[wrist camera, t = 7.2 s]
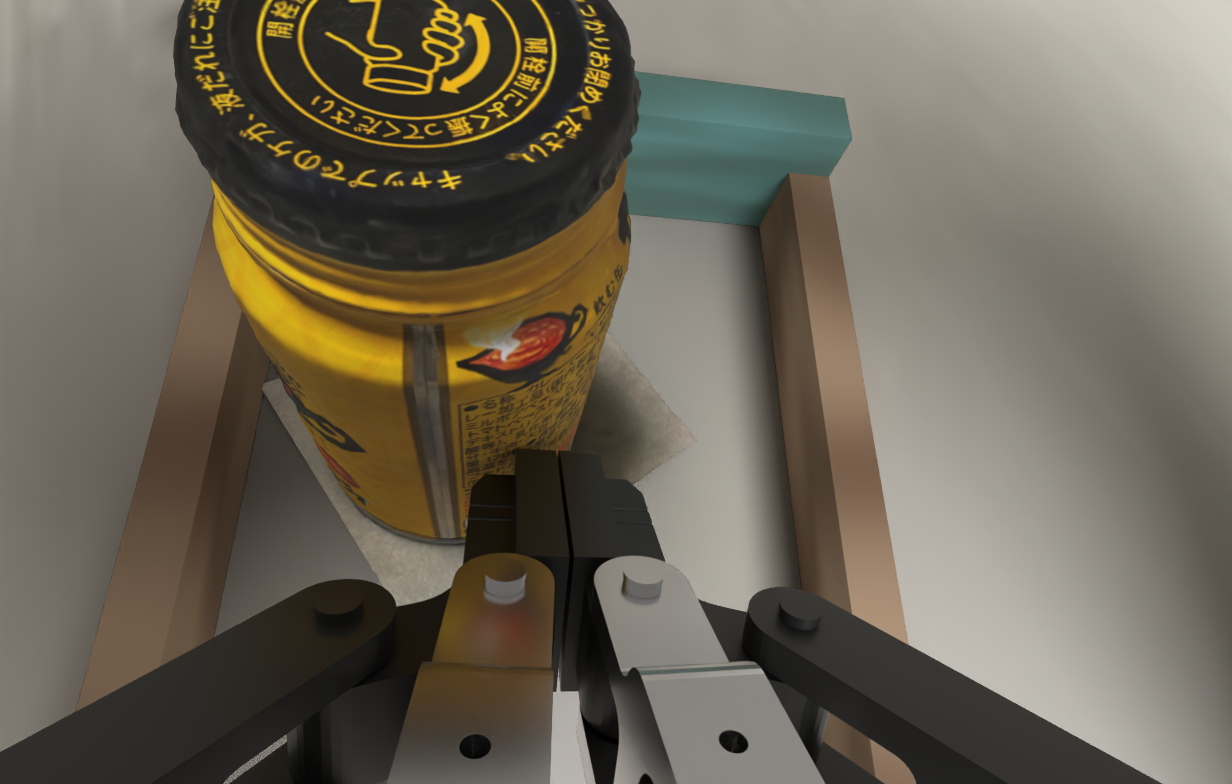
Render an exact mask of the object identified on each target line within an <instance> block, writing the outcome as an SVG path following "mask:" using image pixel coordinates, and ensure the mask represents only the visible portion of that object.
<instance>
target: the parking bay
mask: <svg viewBox="0 0 1232 784" xmlns="http://www.w3.org/2000/svg"><path fill="white" fill-rule="evenodd" d="M634 73H635V77H636V78H637V79H638V80H639V87H640V90H641V92H642V93H641V98H640V102H639V107H638V114H639V122H638V125H637V132H636V134H635V135H634V136H633V137H632V138H631V143H632V145H633V148H632V152H631V153H630V154H629V155H628V156H627V162H626V178H625V183H624V188H625V191H626V194H627V202H628V211H629V214H636V215H647V216H657V217H667V218H678V219H688V220H698V221H709V222H719V223H729V224H740V225H750V226H759V228H760V237H761V245H762V254H763V263H764V271H765V280H766V288H767V297H768V305H769V314H770V322H771V331H772V340H773V348H774V357H775V365H776V374H777V382H778V391H779V399H780V408H781V417H782V425H783V434H784V442H785V451H786V459H787V468H788V476H789V485H790V493H791V502H792V511H793V519H794V528H795V536H796V545H797V553H798V562H799V570H800V579H801V588H802V590H803V591H807V592H810V593H812V594H815V595H817V596H820V597H822V598H824V599H826V600H827V601H829V602H831V603H833V604H835V605H836V606H838V607H840V608H842V609H844V610H846V611H847V612H849V613H851V614H853V615H855V616H857V617H858V618H860V619H862V620H864V621H866V622H868V623H869V624H871V625H873V626H875V627H877V628H878V629H880V630H882V631H884V632H886V633H888V634H889V635H891V636H893V637H895V638H897V639H899V640H900V641H902V642H904V643H906V644H908V639H907V633H906V627H905V621H904V615H903V609H902V603H901V598H900V592H899V586H898V580H897V574H896V568H895V562H894V557H893V551H892V545H891V539H890V533H889V527H888V522H887V516H886V510H885V504H884V498H883V492H882V486H881V481H880V475H879V469H878V463H877V457H876V451H875V445H874V440H873V434H872V428H871V422H870V416H869V410H868V405H867V399H866V393H865V387H864V381H863V375H862V369H861V364H860V358H859V352H858V346H857V340H856V334H855V329H854V323H853V317H852V311H851V305H850V299H849V293H848V288H847V282H846V276H845V270H844V264H843V258H842V252H841V247H840V241H839V235H838V229H837V223H836V217H835V212H834V206H833V200H832V194H831V188H830V182H829V175H830V174H831V172H832V171H833V169H834V167H835V166H836V164H837V163H838V161H839V159H840V158H841V156H842V155H843V153H844V151H845V150H846V148H847V147H848V145H849V143H850V142H851V140H852V136H851V131H850V126H849V121H848V115H847V110H846V105H845V100H844V98H840V97H832V96H824V95H816V94H808V93H800V92H793V91H785V90H777V89H769V88H761V87H753V86H745V85H738V84H730V83H722V82H714V81H706V80H698V79H690V78H683V77H675V76H667V75H659V74H651V73H643V72H636V71H634ZM214 199H215V194H214V196H213V200H212V204H211V208H210V211H209V215H208V219H207V223H206V226H205V230H204V234H203V237H202V241H201V245H200V249H199V252H198V256H197V260H196V264H195V267H194V271H193V275H192V279H191V282H190V286H189V290H188V293H187V297H186V301H185V305H184V308H183V312H182V316H181V320H180V323H179V327H178V331H177V335H176V338H175V342H174V346H173V350H172V353H171V357H170V361H169V364H168V368H167V372H166V376H165V379H164V383H163V387H162V391H161V394H160V398H159V402H158V406H157V409H156V413H155V417H154V420H153V424H152V428H151V432H150V435H149V439H148V443H147V447H146V450H145V454H144V458H143V462H142V465H141V469H140V473H139V476H138V480H137V484H136V488H135V491H134V495H133V499H132V503H131V506H130V510H129V514H128V518H127V521H126V525H125V529H124V533H123V536H122V540H121V544H120V547H119V551H118V555H117V559H116V562H115V566H114V570H113V574H112V577H111V581H110V585H109V589H108V592H107V596H106V600H105V603H104V607H103V611H102V615H101V618H100V622H99V626H98V630H97V633H96V637H95V641H94V645H93V648H92V652H91V656H90V659H89V663H88V667H87V671H86V674H85V678H84V682H83V686H82V689H81V693H80V697H79V701H78V704H77V708H76V711H78V710H80V709H82V708H84V707H86V706H87V705H89V704H91V703H93V702H95V701H97V700H99V699H100V698H102V697H104V696H106V695H108V694H110V693H112V692H113V691H115V690H117V689H119V688H121V687H123V686H125V685H126V684H128V683H130V682H132V681H134V680H136V679H138V678H140V677H141V676H143V675H145V674H147V673H149V672H151V671H153V670H154V669H156V668H158V667H160V666H162V665H164V664H166V663H167V662H169V661H171V660H173V659H175V658H177V657H179V656H180V655H182V654H184V653H186V652H188V651H190V650H192V649H194V648H195V647H197V646H199V645H201V644H203V643H205V642H207V641H208V640H210V639H212V638H213V637H214V632H215V627H216V623H217V618H218V613H219V608H220V603H221V598H222V593H223V588H224V583H225V578H226V574H227V569H228V564H229V559H230V554H231V549H232V544H233V539H234V534H235V529H236V524H237V520H238V515H239V510H240V505H241V500H242V495H243V490H244V485H245V480H246V475H247V471H248V466H249V461H250V456H251V451H252V446H253V441H254V436H255V431H256V426H257V422H258V417H259V412H260V407H261V402H262V397H263V390H262V387H263V383H265V382H266V377H267V373H268V368H269V363H270V359H269V358H268V356H267V354H266V352H265V350H264V348H263V346H262V345H261V344H260V343H259V340H258V339H257V338H256V336H255V333H254V331H253V329H252V327H251V325H250V323H249V321H248V318H247V316H246V314H245V313H244V312H243V311H242V310H241V309H240V307H239V306H238V303H237V301H236V298H235V295H234V293H233V291H232V288H231V286H230V284H229V282H228V280H227V278H226V275H225V272H224V269H223V265H222V262H221V259H220V256H219V253H218V251H217V249H216V245H215V237H214V231H213V212H214ZM908 645H909V644H908ZM823 742H825V743H826V744H828V745H829V746H831V747H832V748H833V749H835V750H836V751H838V752H839V753H841V754H842V755H844V756H845V757H847V758H848V759H849V760H851V761H852V762H854V763H855V764H857V765H858V766H860V767H861V768H863V769H864V770H866V771H867V772H868V773H870V774H871V775H873V776H874V777H876V778H877V779H879V780H880V781H882V782H883V783H884V784H916V781H915V778H914V776H913V774H912V773H911V771H910V770H909V768H908V767H907V766H906V765H905V763H904V762H903V761H902V760H901V759H899V758H898V757H897V756H895V755H894V754H893V753H891V752H889V751H888V750H886V749H885V748H883V747H882V746H880V745H879V744H877V743H876V742H874V741H873V740H871V739H870V738H868V737H867V736H865V735H863V734H862V733H860V732H859V731H857V730H856V729H854V728H853V727H851V726H850V725H848V724H847V723H845V722H844V721H842V720H841V719H839V718H837V717H836V716H834V715H833V714H831V713H830V715H829V719H828V723H827V727H826V730H825V734H824V738H823Z"/></svg>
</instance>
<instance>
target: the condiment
mask: <svg viewBox="0 0 1232 784" xmlns="http://www.w3.org/2000/svg"><path fill="white" fill-rule="evenodd" d="M173 58H174V66H175V77H176V81H177V93H176V107H175V110H176V112H177V115H178V117H179V122H180V126H181V128H182V130H183V133H184V135H185V136H186V138H187V139H188V140H189V142H190V143H191V145H192V146H193V147H194V149H195V151H196V152H197V154H198V157H199V159H200V161H201V163H202V165H203V166H204V167H205V168H206V169H207V170H208V172H209V174H210V176H211V183H212V187H213V192H214V194H215V199H214V212H213V231H214V237H215V245H216V249H217V251H218V253H219V256H220V259H221V262H222V265H223V269H224V272H225V275H226V278H227V280H228V282H229V284H230V286H231V288H232V291H233V293H234V295H235V298H236V301H237V303H238V306H239V307H240V309H241V310H242V311H243V312H244V313H245V314H246V316H247V318H248V321H249V323H250V325H251V327H252V329H253V331H254V333H255V336H256V338H257V339H258V340H259V343H260V344H261V345H262V346H263V348H264V350H265V352H266V354H267V356H268V358H269V359H270V361H271V363H272V365H273V367H274V368H275V370H276V372H277V375H278V376H279V378H277V379H274V380H272V381H269V382H265V383H263V387H262V390H263V392H264V393H265V395H266V397H267V398H268V400H269V402H270V403H271V405H272V407H273V408H274V410H275V411H276V413H277V415H278V416H279V418H280V420H281V421H282V423H283V425H284V426H285V428H286V429H287V431H288V433H289V434H290V436H291V438H292V439H293V441H294V442H295V444H296V446H297V447H298V449H299V451H300V452H301V454H302V456H303V457H304V459H305V460H306V462H307V464H308V465H309V467H310V469H311V470H312V472H313V474H314V475H315V477H316V479H317V480H318V482H319V483H320V485H321V487H322V488H323V490H324V491H325V493H326V495H327V496H328V498H329V500H330V501H331V503H332V505H333V506H334V508H335V509H336V511H337V513H338V514H339V516H340V518H341V519H342V521H343V522H344V524H345V526H346V527H347V529H348V531H349V532H350V534H351V536H352V537H353V539H354V540H355V542H356V544H357V545H358V547H359V549H360V550H361V552H362V554H363V555H364V557H365V558H366V560H367V562H368V563H369V565H370V567H371V569H372V570H373V572H374V573H375V574H376V576H377V577H378V579H379V581H380V583H381V584H382V586H383V588H385V589H386V590H388V591H389V592H390V593H391V594H392V596H393V597H394V599H395V602H396V607H397V606H402V605H407V604H412V603H417V602H421V601H425V600H427V599H430V598H433V597H435V596H437V595H440V594H442V593H443V592H445V591H446V590H448V589H449V588H450V587H451V586H452V582H453V579H454V576H455V573H456V572H457V570H458V569H459V568H460V567H461V566H462V565H463V558H464V549H465V540H466V531H467V523H468V514H469V506H470V496H471V487H472V486H473V485H474V484H475V483H476V482H477V481H478V480H479V479H481V478H482V477H483V476H484V475H485V474H498V475H514V465H515V453H516V449H535V450H556V453H557V456H558V451H559V450H561V451H583V452H598V453H599V455H600V459H601V463H602V467H603V471H604V475H605V479H626V480H628V481H629V482H630V483H631V484H634V483H636V482H637V481H639V480H640V479H641V478H643V477H644V476H645V475H647V474H648V473H650V472H651V471H652V470H654V469H655V468H657V467H658V466H659V465H661V464H662V463H663V462H665V461H666V460H668V459H669V458H671V457H672V456H674V455H675V454H677V453H679V452H680V451H681V450H683V449H684V448H686V447H687V446H689V445H690V444H692V443H693V442H695V441H696V439H695V437H694V436H693V435H692V434H691V433H690V431H689V430H688V429H687V428H686V427H685V425H684V424H683V423H682V422H681V420H680V419H679V418H678V417H677V416H676V415H675V414H674V413H673V412H672V411H671V410H670V409H669V407H668V406H667V405H666V403H665V402H664V401H663V400H662V399H661V397H660V396H659V395H658V394H657V393H656V391H655V390H654V389H653V388H652V387H651V385H650V384H649V382H648V381H647V380H646V379H645V378H644V376H643V375H642V374H641V373H640V371H639V370H638V369H637V368H636V367H635V366H634V365H633V363H632V362H631V361H630V360H629V359H628V357H627V356H626V355H625V353H624V352H623V351H622V349H621V348H620V347H619V345H618V344H617V343H616V341H615V340H614V339H613V338H612V336H611V335H610V334H609V333H608V328H609V326H610V322H611V319H612V317H613V311H614V307H615V304H616V301H617V298H618V295H619V291H620V288H621V285H622V282H623V279H624V275H625V273H626V272H627V269H628V262H629V252H630V250H629V249H630V242H631V219H630V217H629V211H628V202H627V194H626V191H625V188H624V183H625V178H626V162H627V156H628V155H629V154H630V153H631V152H632V148H633V145H632V143H631V138H632V137H633V136H634V135H635V134H636V132H637V125H638V122H639V114H638V107H639V102H640V98H641V93H642V92H641V90H640V87H639V80H638V79H637V78H636V77H635V73H634V65H635V61H634V60H633V58H632V56H631V46H630V41H629V36H628V32H627V29H626V27H625V25H624V23H623V21H622V19H621V18H620V17H619V15H618V14H617V12H616V11H615V9H614V8H613V7H612V5H611V4H610V2H609V1H608V0H184V2H183V4H182V7H181V9H180V12H179V14H178V23H177V31H176V35H175V40H174V52H173Z"/></svg>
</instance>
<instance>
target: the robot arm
mask: <svg viewBox="0 0 1232 784" xmlns="http://www.w3.org/2000/svg"><path fill="white" fill-rule="evenodd" d="M558 668H559V678H560V690H561V691H578V692H579V701H580V706H579V714H578V723H577V740H578V745H579V751H580V756H581V761H582V766H583V771H584V776H585V781H586V784H884V783H883V782H882V781H880V780H879V779H877V778H876V777H874V776H873V775H871V774H870V773H868V772H867V771H866V770H864V769H863V768H861V767H860V766H858V765H857V764H855V763H854V762H852V761H851V760H849V759H848V758H847V757H845V756H844V755H842V754H841V753H839V752H838V751H836V750H835V749H833V748H832V747H831V746H829V745H828V744H826V743H825V742H823V738H824V734H825V730H826V727H827V723H828V719H829V715H830V713H831V714H833V715H834V716H836V717H837V718H839V719H841V720H842V721H844V722H845V723H847V724H848V725H850V726H851V727H853V728H854V729H856V730H857V731H859V732H860V733H862V734H863V735H865V736H867V737H868V738H870V739H871V740H873V741H874V742H876V743H877V744H879V745H880V746H882V747H883V748H885V749H886V750H888V751H889V752H891V753H893V754H894V755H895V756H897V757H898V758H899V759H901V760H902V761H903V762H904V763H905V765H906V766H907V767H908V768H909V770H910V771H911V773H912V774H913V776H914V778H915V781H916V784H1162V783H1160V782H1158V781H1156V780H1154V779H1153V778H1151V777H1149V776H1147V775H1145V774H1143V773H1142V772H1140V771H1138V770H1136V769H1134V768H1132V767H1131V766H1129V765H1127V764H1125V763H1123V762H1121V761H1120V760H1118V759H1116V758H1114V757H1112V756H1111V755H1109V754H1107V753H1105V752H1103V751H1101V750H1100V749H1098V748H1096V747H1094V746H1092V745H1090V744H1089V743H1087V742H1085V741H1083V740H1081V739H1079V738H1078V737H1076V736H1074V735H1072V734H1070V733H1068V732H1067V731H1065V730H1063V729H1061V728H1059V727H1058V726H1056V725H1054V724H1052V723H1050V722H1048V721H1047V720H1045V719H1043V718H1041V717H1039V716H1037V715H1036V714H1034V713H1032V712H1030V711H1028V710H1026V709H1025V708H1023V707H1021V706H1019V705H1017V704H1016V703H1014V702H1012V701H1010V700H1008V699H1006V698H1005V697H1003V696H1001V695H999V694H997V693H995V692H994V691H992V690H990V689H988V688H986V687H984V686H983V685H981V684H979V683H977V682H975V681H973V680H972V679H970V678H968V677H966V676H964V675H963V674H961V673H959V672H957V671H955V670H953V669H952V668H950V667H948V666H946V665H944V664H942V663H941V662H939V661H937V660H935V659H933V658H931V657H930V656H928V655H926V654H924V653H922V652H921V651H919V650H917V649H915V648H913V647H911V646H910V645H908V644H906V643H904V642H902V641H900V640H899V639H897V638H895V637H893V636H891V635H889V634H888V633H886V632H884V631H882V630H880V629H878V628H877V627H875V626H873V625H871V624H869V623H868V622H866V621H864V620H862V619H860V618H858V617H857V616H855V615H853V614H851V613H849V612H847V611H846V610H844V609H842V608H840V607H838V606H836V605H835V604H833V603H831V602H829V601H827V600H826V599H824V598H822V597H820V596H817V595H815V594H812V593H810V592H807V591H803V590H800V589H794V588H786V587H775V588H768V589H765V590H762V591H760V592H758V593H756V594H755V595H754V596H753V597H752V598H751V600H750V602H749V605H748V610H747V612H743V611H739V610H734V609H730V608H725V607H721V606H717V605H713V604H710V603H707V602H704V601H701V600H699V599H697V597H696V595H695V593H694V591H693V589H692V587H691V585H690V583H689V581H688V579H687V578H686V576H685V575H684V574H683V573H682V572H681V571H679V570H678V569H677V568H675V567H674V566H672V565H670V564H668V563H666V562H665V559H664V556H663V553H662V550H661V547H660V544H659V542H658V539H657V536H656V533H655V530H654V527H653V525H652V521H651V518H650V515H649V512H647V506H646V503H645V500H644V497H643V495H642V493H641V492H640V491H639V490H638V489H637V488H635V487H634V486H633V485H632V484H631V483H630V482H629V481H628V480H626V479H605V475H604V471H603V467H602V463H601V459H600V455H599V453H598V452H583V451H561V450H559V451H558V456H557V453H556V450H535V449H516V453H515V465H514V475H498V474H485V475H484V476H483V477H482V478H481V479H479V480H478V481H477V482H476V483H475V484H474V485H473V486H472V487H471V496H470V506H469V514H468V523H467V531H466V540H465V549H464V558H463V565H462V566H461V567H460V568H459V569H458V570H457V572H456V573H455V576H454V579H453V582H452V586H451V587H450V588H449V589H448V590H446V591H445V592H443V593H442V594H440V595H437V596H435V597H433V598H430V599H427V600H425V601H421V602H417V603H412V604H407V605H402V606H397V607H396V602H395V599H394V597H393V596H392V594H391V593H390V592H389V591H388V590H386V589H385V588H383V587H382V586H380V585H377V584H375V583H372V582H368V581H364V580H356V579H341V580H332V581H327V582H323V583H319V584H316V585H313V586H310V587H308V588H306V589H304V590H302V591H300V592H298V593H296V594H294V595H292V596H290V597H288V598H287V599H285V600H283V601H281V602H279V603H277V604H275V605H274V606H272V607H270V608H268V609H266V610H264V611H262V612H261V613H259V614H257V615H255V616H253V617H251V618H249V619H248V620H246V621H244V622H242V623H240V624H238V625H236V626H234V627H233V628H231V629H229V630H227V631H225V632H223V633H221V634H220V635H218V636H216V637H214V638H212V639H210V640H208V641H207V642H205V643H203V644H201V645H199V646H197V647H195V648H194V649H192V650H190V651H188V652H186V653H184V654H182V655H180V656H179V657H177V658H175V659H173V660H171V661H169V662H167V663H166V664H164V665H162V666H160V667H158V668H156V669H154V670H153V671H151V672H149V673H147V674H145V675H143V676H141V677H140V678H138V679H136V680H134V681H132V682H130V683H128V684H126V685H125V686H123V687H121V688H119V689H117V690H115V691H113V692H112V693H110V694H108V695H106V696H104V697H102V698H100V699H99V700H97V701H95V702H93V703H91V704H89V705H87V706H86V707H84V708H82V709H80V710H78V711H76V712H74V713H72V714H71V715H69V716H67V717H65V718H63V719H61V720H59V721H58V722H56V723H54V724H52V725H50V726H48V727H46V728H45V729H43V730H41V731H39V732H37V733H35V734H33V735H32V736H30V737H28V738H26V739H24V740H22V741H20V742H18V743H17V744H15V745H13V746H11V747H9V748H7V749H5V750H4V751H2V752H0V784H223V783H224V782H225V780H226V779H227V778H228V777H229V776H230V775H231V774H232V773H233V772H234V771H236V770H237V769H238V768H239V767H241V766H242V765H244V764H245V763H246V762H248V761H249V760H251V759H252V758H253V757H255V756H256V755H258V754H259V753H260V752H262V751H263V750H265V749H266V748H267V747H269V746H270V745H272V744H273V743H275V742H276V741H277V740H279V739H280V738H282V737H283V736H284V735H286V734H287V742H286V743H285V744H284V745H282V746H281V747H279V748H278V749H277V750H275V751H274V752H272V753H271V754H270V755H268V756H267V757H265V758H264V759H263V760H261V761H260V762H259V763H257V764H256V765H254V766H253V767H252V768H250V769H249V770H247V771H246V772H245V773H243V774H242V775H241V776H239V777H238V778H236V779H235V780H234V781H232V782H231V783H229V784H550V761H551V733H552V704H553V692H556V688H557V678H558Z"/></svg>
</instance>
